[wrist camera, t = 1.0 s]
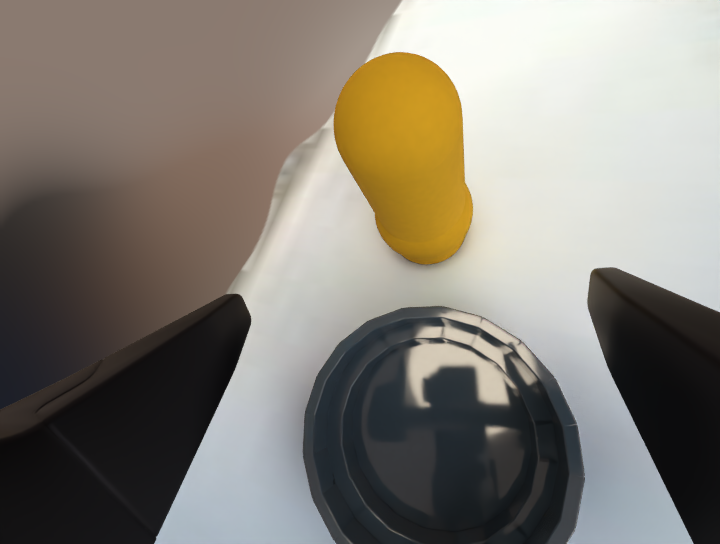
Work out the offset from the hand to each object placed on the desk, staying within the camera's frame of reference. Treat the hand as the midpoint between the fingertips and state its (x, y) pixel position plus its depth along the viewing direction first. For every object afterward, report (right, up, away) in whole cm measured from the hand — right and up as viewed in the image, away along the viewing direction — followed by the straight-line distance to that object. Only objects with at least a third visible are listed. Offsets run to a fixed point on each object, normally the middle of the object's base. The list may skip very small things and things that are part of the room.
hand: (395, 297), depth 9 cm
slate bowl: (+4, -8, +12) cm, 15 cm away
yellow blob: (+4, +4, +15) cm, 16 cm away
